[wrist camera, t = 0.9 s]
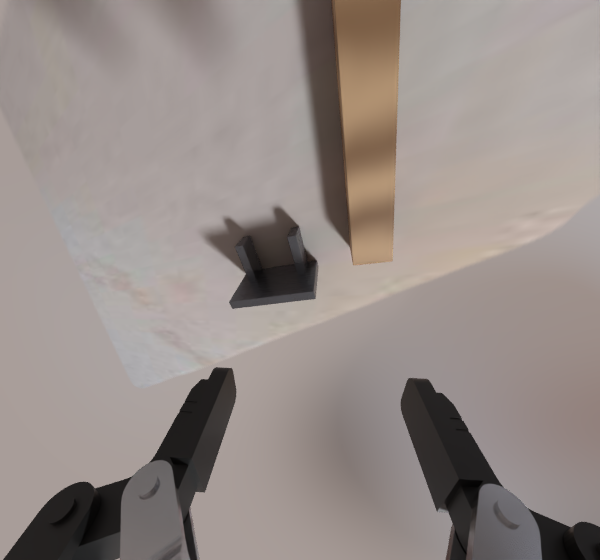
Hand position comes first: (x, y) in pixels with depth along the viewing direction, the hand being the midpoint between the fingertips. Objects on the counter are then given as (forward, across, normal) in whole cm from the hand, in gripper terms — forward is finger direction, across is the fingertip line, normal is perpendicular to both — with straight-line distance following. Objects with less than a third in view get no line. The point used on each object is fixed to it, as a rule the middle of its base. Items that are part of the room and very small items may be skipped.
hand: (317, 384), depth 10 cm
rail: (+19, -4, -11) cm, 23 cm away
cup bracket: (+21, +5, +1) cm, 21 cm away
